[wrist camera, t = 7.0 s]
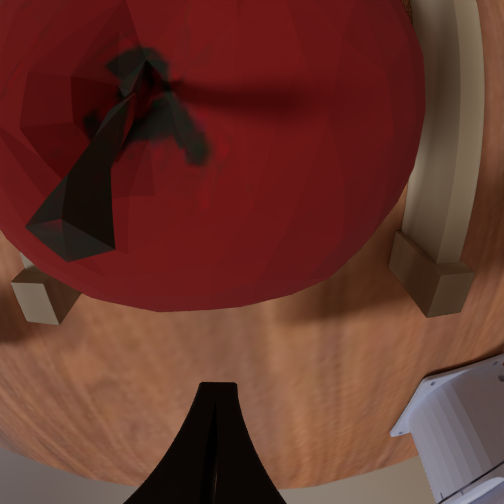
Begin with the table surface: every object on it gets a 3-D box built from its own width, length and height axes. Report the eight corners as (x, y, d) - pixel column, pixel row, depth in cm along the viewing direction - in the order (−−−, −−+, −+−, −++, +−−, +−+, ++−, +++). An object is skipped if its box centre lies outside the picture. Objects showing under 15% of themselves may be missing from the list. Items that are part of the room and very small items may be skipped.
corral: (432, -28, 6) (481, -50, 3) (419, 265, 13) (460, 312, 9) (44, -18, 6) (-5, -38, 3) (66, 273, 12) (27, 321, 9)
